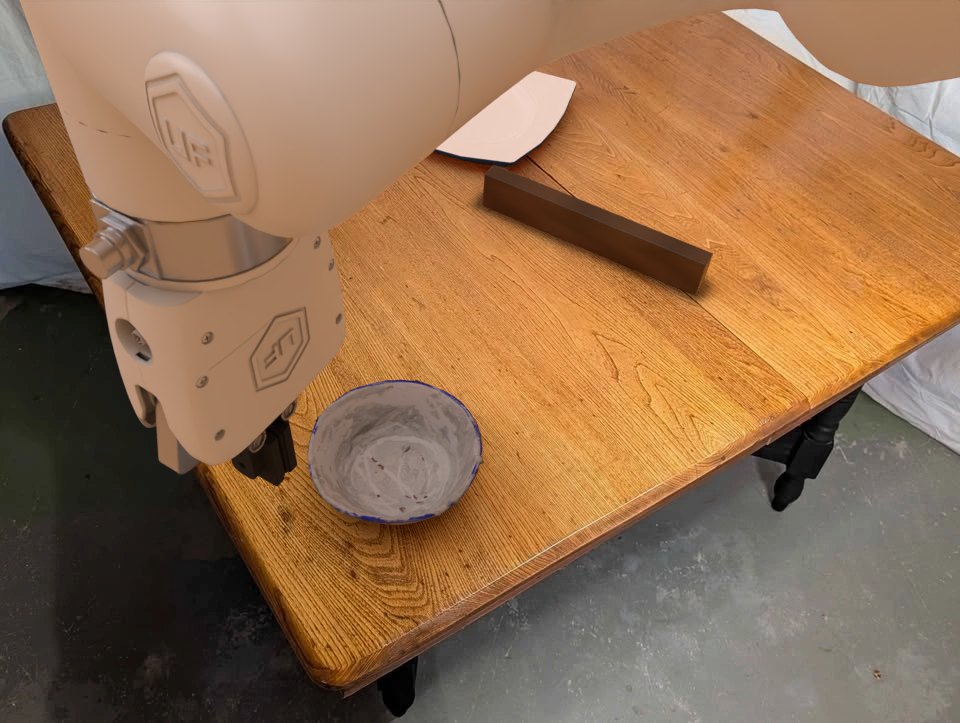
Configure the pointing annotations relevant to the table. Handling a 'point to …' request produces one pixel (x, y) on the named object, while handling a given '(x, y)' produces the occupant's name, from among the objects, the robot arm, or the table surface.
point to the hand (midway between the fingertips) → (265, 464)
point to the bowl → (394, 452)
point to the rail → (596, 229)
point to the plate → (512, 122)
